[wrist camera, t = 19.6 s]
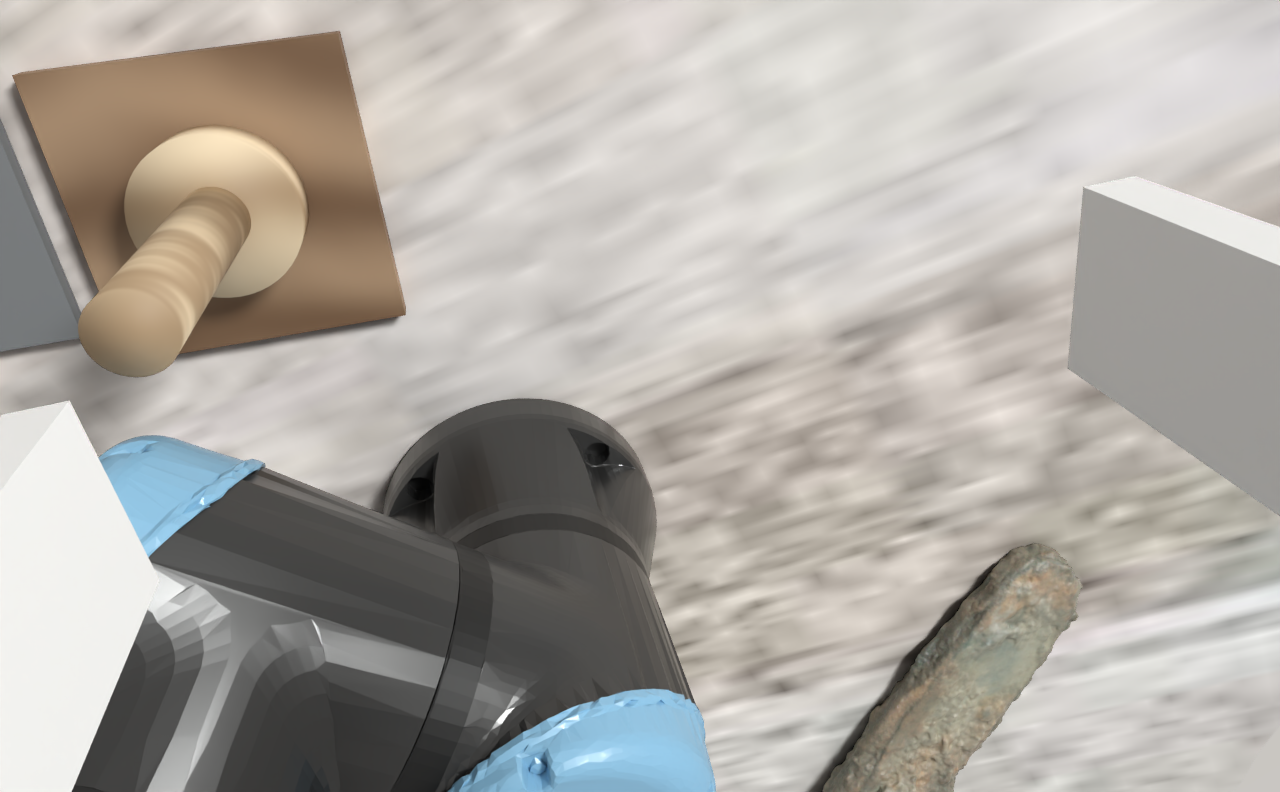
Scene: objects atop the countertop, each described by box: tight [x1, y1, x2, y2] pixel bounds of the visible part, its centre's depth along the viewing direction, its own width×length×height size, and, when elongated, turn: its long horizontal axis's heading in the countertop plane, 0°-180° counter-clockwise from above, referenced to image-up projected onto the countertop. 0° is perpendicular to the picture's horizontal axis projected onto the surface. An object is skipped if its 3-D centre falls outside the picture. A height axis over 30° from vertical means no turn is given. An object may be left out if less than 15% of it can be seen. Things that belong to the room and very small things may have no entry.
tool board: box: [12, 31, 406, 354], centre depth 42 cm, size 13×13×1 cm
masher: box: [78, 125, 309, 377], centre depth 35 cm, size 7×7×16 cm
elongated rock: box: [822, 543, 1082, 792], centre depth 66 cm, size 35×5×10 cm
